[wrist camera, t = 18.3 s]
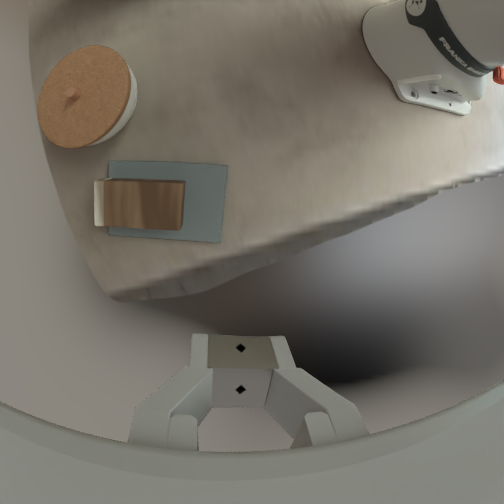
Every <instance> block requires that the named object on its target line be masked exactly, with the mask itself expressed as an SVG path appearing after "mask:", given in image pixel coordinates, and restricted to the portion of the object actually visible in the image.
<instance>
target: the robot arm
mask: <svg viewBox="0 0 504 504" xmlns="http://www.w3.org/2000/svg"><path fill="white" fill-rule="evenodd" d="M363 35H364V40H365V43H366V45H367V48H368V50H369V52H370V54H371V56H372V57H373V59H374V60H375V62H376V63H377V64H378V66H379V67H380V68H381V69H382V70H383V72H384V73H385V74H386V75H387V76H388V77H389V79H390V80H391V82H392V84H393V86H394V89H395V91H396V93H397V95H398V97H399V98H400V99H401V100H402V101H404V102H408V103H413V104H418V105H423V106H427V107H431V108H436V109H440V110H444V111H447V112H451V113H455V114H458V115H462V116H464V115H468V113H469V112H470V110H471V107H472V103H473V101H477V100H480V99H481V98H482V97H483V96H484V93H485V90H486V80H487V74H488V73H489V72H491V71H493V81H494V82H496V83H498V84H501V85H504V69H503V68H502V67H501V66H504V0H395V1H393V2H390V3H387V4H383V5H379V6H375V7H373V8H371V9H370V10H369V11H368V12H367V13H366V15H365V17H364V20H363ZM411 93H412V95H411ZM214 407H215V408H221V407H222V408H226V407H227V408H232V407H243V408H245V407H246V408H264V409H265V410H266V411H267V412H268V413H269V414H270V415H271V416H272V417H273V419H274V420H275V421H276V422H277V423H278V424H279V425H280V426H281V427H282V428H283V429H284V430H285V431H286V432H287V433H288V434H289V435H290V436H291V437H292V438H293V439H294V441H293V443H292V445H291V447H290V449H282V450H270V451H252V452H251V451H250V452H207V451H199V447H198V426H199V425H200V424H201V422H202V421H203V420H204V418H205V417H206V416H207V414H208V413H209V412H210V410H211V408H214ZM0 504H504V380H502V381H500V382H499V383H497V384H495V385H493V386H492V387H490V388H488V389H486V390H484V391H483V392H481V393H479V394H477V395H475V396H473V397H470V398H468V399H467V400H464V401H462V402H460V403H458V404H456V405H453V406H451V407H449V408H447V409H444V410H442V411H439V412H437V413H434V414H432V415H429V416H426V417H424V418H421V419H418V420H416V421H413V422H410V423H407V424H404V425H401V426H398V427H394V428H391V429H387V430H384V431H381V432H377V433H373V434H369V432H368V430H367V428H366V426H365V424H364V421H363V419H362V418H361V415H360V414H359V411H358V409H357V407H356V405H354V404H353V403H351V402H349V401H348V400H346V399H345V398H343V397H342V396H340V395H339V394H337V393H336V392H334V391H333V390H331V389H330V388H328V387H327V386H325V385H324V384H322V383H321V382H320V381H318V380H317V379H315V378H314V377H312V376H311V375H310V374H308V373H307V372H305V371H304V370H303V369H301V368H296V366H295V363H294V361H293V358H292V355H291V352H290V349H289V347H288V344H287V341H286V338H285V337H284V336H269V337H244V336H243V337H241V336H228V335H213V334H209V335H208V334H198V333H193V334H192V337H191V347H190V356H189V367H183V368H182V369H180V370H179V371H178V372H177V373H176V374H175V375H174V376H172V377H171V378H170V379H169V380H168V381H167V382H165V383H164V384H163V385H162V386H161V387H159V388H158V389H157V390H156V391H155V392H154V393H152V394H151V395H150V396H149V397H148V398H146V399H145V400H144V401H143V402H142V403H140V404H139V405H138V406H137V407H136V408H135V411H134V415H133V420H132V424H131V429H130V434H129V438H128V443H126V442H121V441H116V440H112V439H107V438H103V437H98V436H94V435H91V434H86V433H83V432H80V431H76V430H73V429H69V428H66V427H63V426H60V425H57V424H54V423H51V422H48V421H46V420H43V419H40V418H37V417H35V416H32V415H30V414H27V413H25V412H22V411H20V410H18V409H16V408H14V407H11V406H9V405H7V404H5V403H3V402H1V401H0Z"/></svg>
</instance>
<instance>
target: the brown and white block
mask: <svg viewBox="0 0 504 504" xmlns="http://www.w3.org/2000/svg"><path fill="white" fill-rule="evenodd" d="M185 185H186V181H181V180H162V179H133V178H103V179H100V180H96V181H94V219H95V226H109V227H126V228H142V229H158V230H173V231H180V229H181V227H182V225H183V216H184V199H185Z"/></svg>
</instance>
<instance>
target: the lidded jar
mask: <svg viewBox="0 0 504 504" xmlns="http://www.w3.org/2000/svg"><path fill="white" fill-rule="evenodd" d="M137 95H138V89H137V83H136V79H135V76H134V74H133V72H132V70H131V68H130V67H129V66H128V64H127V63H126V62H125V60H124V59H123V58H122V57H121V56H120V55H119V54H118V53H117V52H115V51H114V50H112V49H110V48H108V47H104V46H88V47H84V48H81V49H78V50H76V51H74V52H72V53H71V54H69V55H68V56H66V57H65V58H64V59H62V60H61V61H60V62H59V63H58V64H57V65H56V66H55V67H54V68H53V70H52V71H51V72H50V74H49V75H48V77H47V79H46V81H45V83H44V85H43V87H42V89H41V93H40V96H39V101H38V119H39V123H40V127H41V129H42V131H43V133H44V135H45V136H46V137H47V138H48V139H49V140H50V141H51V142H52V143H53V144H55V145H57V146H59V147H62V148H68V149H70V148H81V147H86V146H91V145H95V144H98V143H101V142H104V141H106V140H107V139H109V138H111V137H113V136H114V135H115V134H117V133H118V132H119V131H120V130H121V129H122V128H123V127H124V126H125V125H126V123H127V122H128V121H129V119H130V117H131V116H132V113H133V111H134V109H135V106H136V102H137Z"/></svg>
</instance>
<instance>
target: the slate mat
mask: <svg viewBox="0 0 504 504" xmlns="http://www.w3.org/2000/svg"><path fill="white" fill-rule="evenodd" d="M227 170H228V166H224V165H212V164H198V163H181V162H157V161H109V177H108V178H133V179H162V180H181V181H186V185H185V199H184V216H183V225H182V227H181V229H180V231H173V230H158V229H142V228H126V227H109V226H108V228H109V235H115V236H130V237H145V238H160V239H174V240H189V241H203V242H217V243H221V231H222V220H223V209H224V199H225V189H226V179H227Z"/></svg>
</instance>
